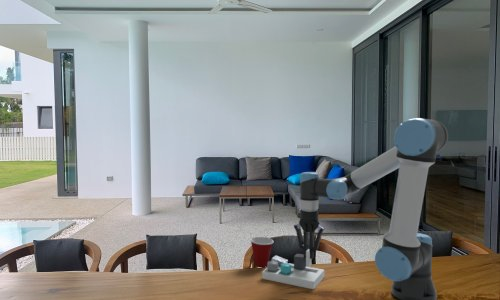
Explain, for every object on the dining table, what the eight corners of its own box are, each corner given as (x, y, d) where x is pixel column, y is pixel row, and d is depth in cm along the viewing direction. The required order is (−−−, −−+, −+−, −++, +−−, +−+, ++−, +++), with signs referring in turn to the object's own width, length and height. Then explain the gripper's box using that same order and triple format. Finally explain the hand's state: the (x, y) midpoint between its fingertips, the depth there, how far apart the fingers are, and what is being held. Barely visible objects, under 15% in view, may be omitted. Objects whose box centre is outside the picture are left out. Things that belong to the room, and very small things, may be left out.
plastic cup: (273, 270, 156) (273, 243, 155) (249, 269, 157) (249, 242, 156) (274, 261, 167) (274, 236, 166) (251, 260, 168) (251, 235, 167)
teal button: (292, 271, 146) (292, 264, 146) (288, 275, 142) (288, 267, 142) (283, 269, 148) (283, 262, 148) (278, 273, 144) (278, 266, 144)
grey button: (279, 269, 149) (279, 262, 149) (275, 272, 145) (275, 265, 145) (270, 267, 151) (270, 260, 151) (265, 270, 147) (265, 263, 147)
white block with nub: (287, 263, 155) (288, 260, 154) (283, 266, 151) (284, 263, 151) (275, 258, 157) (275, 255, 157) (271, 261, 154) (271, 258, 154)
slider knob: (306, 266, 150) (306, 254, 150) (302, 269, 147) (302, 257, 147) (297, 265, 152) (297, 253, 152) (293, 268, 149) (293, 256, 149)
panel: (324, 276, 148) (324, 267, 148) (313, 289, 136) (313, 279, 136) (276, 267, 159) (276, 258, 159) (262, 278, 147) (262, 269, 146)
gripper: (327, 209, 147) (326, 265, 148) (297, 206, 153) (297, 260, 154) (321, 212, 141) (321, 271, 141) (291, 209, 147) (290, 265, 148)
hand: (308, 265), depth 148 cm, fingers closed
